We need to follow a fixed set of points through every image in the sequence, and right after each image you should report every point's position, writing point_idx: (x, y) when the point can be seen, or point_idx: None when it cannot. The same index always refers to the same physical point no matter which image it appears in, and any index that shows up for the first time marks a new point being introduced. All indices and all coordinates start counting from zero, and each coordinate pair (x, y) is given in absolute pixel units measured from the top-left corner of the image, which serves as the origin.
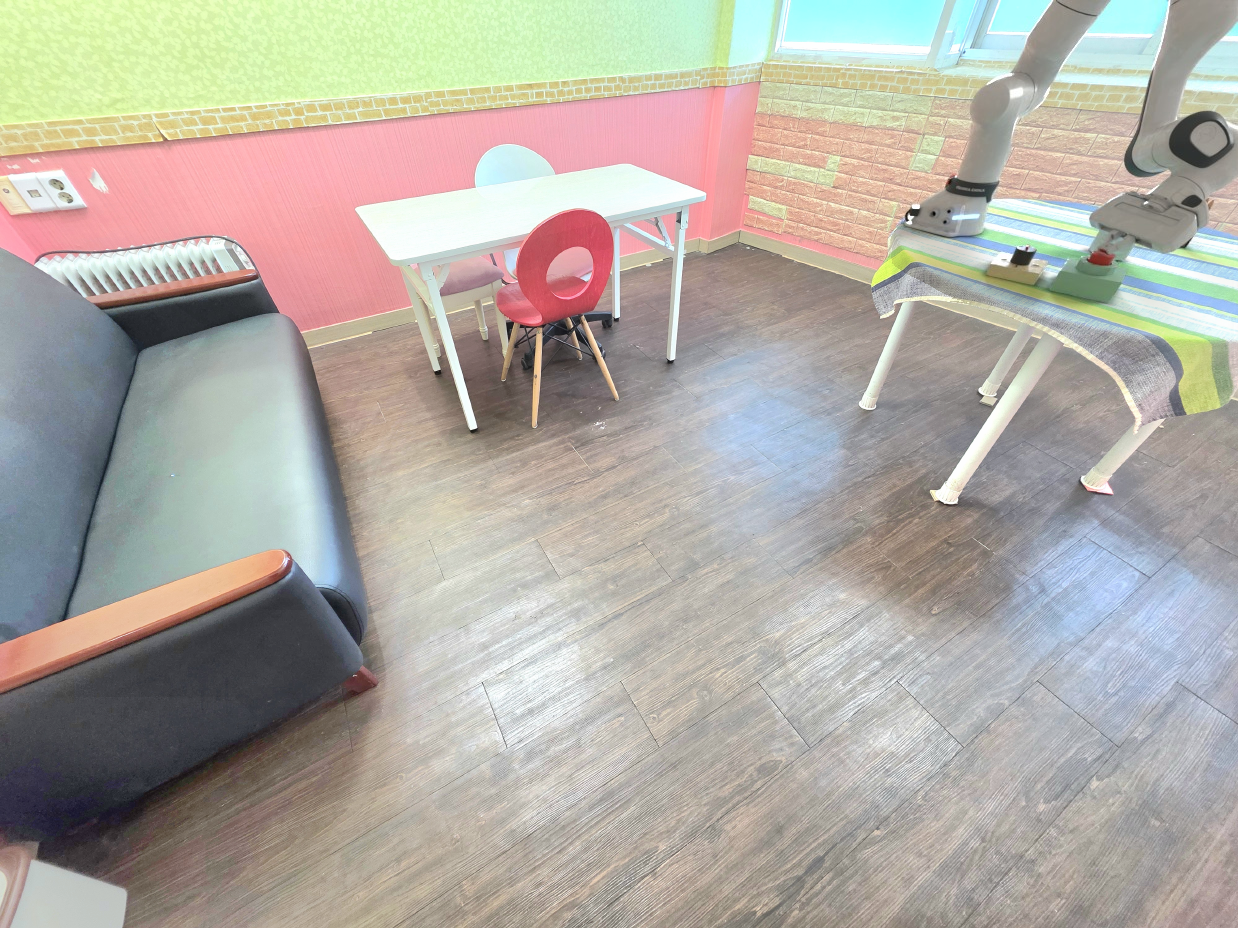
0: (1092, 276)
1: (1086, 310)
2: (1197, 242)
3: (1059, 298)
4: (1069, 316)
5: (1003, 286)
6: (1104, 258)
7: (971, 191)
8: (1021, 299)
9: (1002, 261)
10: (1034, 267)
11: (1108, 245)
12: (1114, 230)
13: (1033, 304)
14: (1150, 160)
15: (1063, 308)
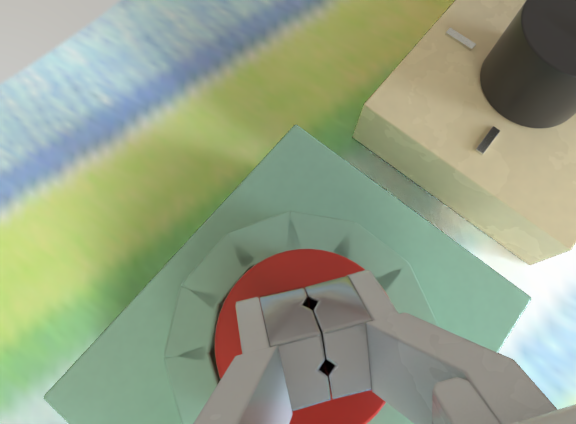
0: (180, 259)
1: (48, 226)
2: None
3: (196, 177)
4: (8, 119)
5: (343, 16)
6: (228, 302)
7: None
8: (203, 22)
9: None
10: (457, 121)
11: (302, 312)
12: (525, 416)
13: (148, 42)
14: None
15: (89, 137)
